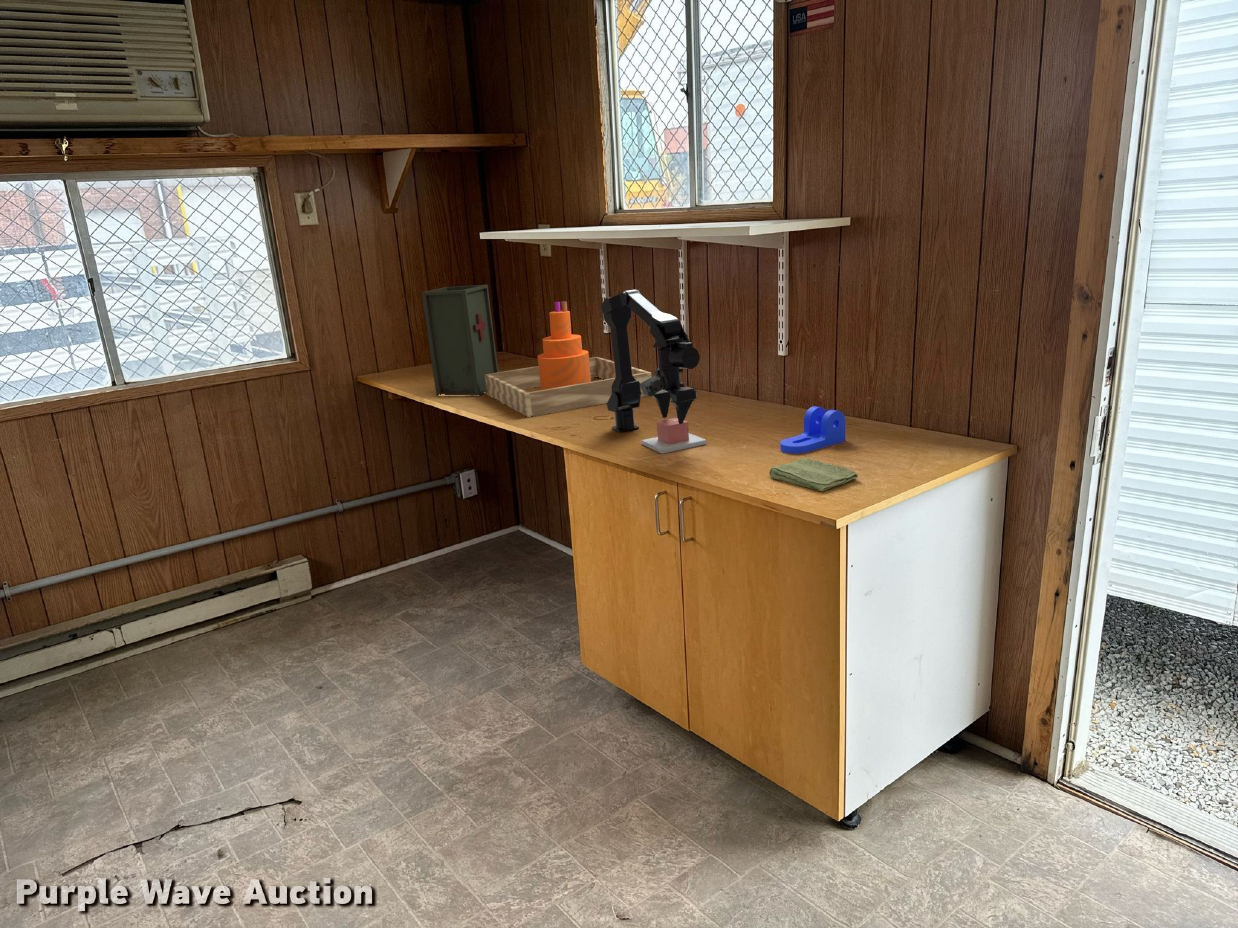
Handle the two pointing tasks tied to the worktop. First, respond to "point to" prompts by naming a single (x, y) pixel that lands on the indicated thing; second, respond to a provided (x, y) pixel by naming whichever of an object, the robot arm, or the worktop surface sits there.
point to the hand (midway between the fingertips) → (672, 420)
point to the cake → (562, 354)
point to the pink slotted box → (672, 431)
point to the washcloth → (812, 474)
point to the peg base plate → (665, 448)
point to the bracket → (817, 431)
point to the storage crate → (555, 389)
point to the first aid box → (460, 338)
